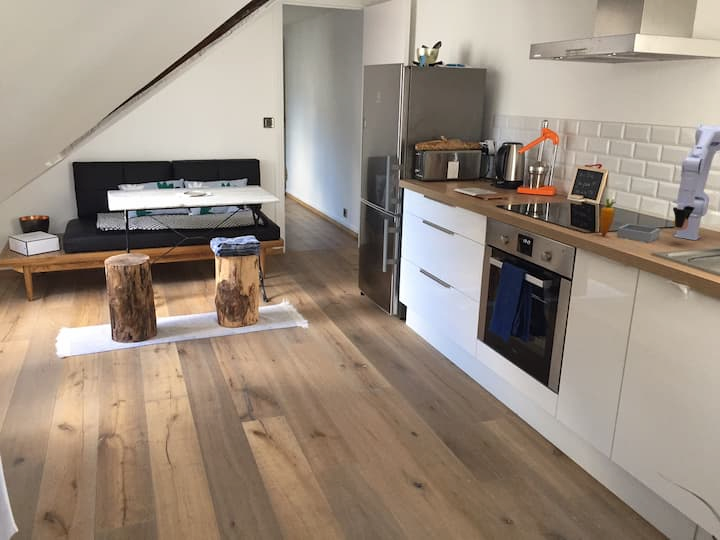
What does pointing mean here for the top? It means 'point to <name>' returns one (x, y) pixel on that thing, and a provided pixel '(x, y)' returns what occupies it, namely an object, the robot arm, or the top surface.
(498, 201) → the top surface
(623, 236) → the grey tray
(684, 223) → the ball
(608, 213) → the carrot
